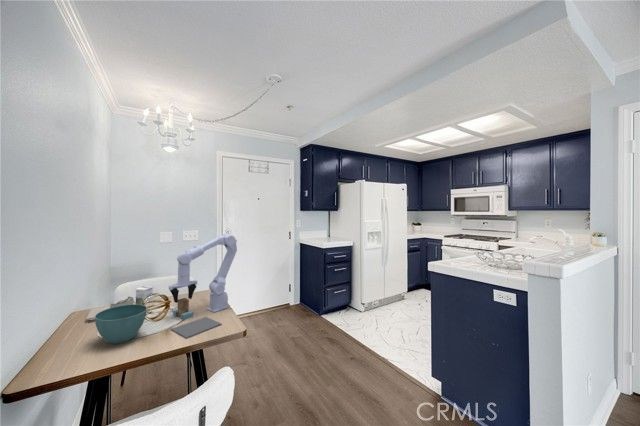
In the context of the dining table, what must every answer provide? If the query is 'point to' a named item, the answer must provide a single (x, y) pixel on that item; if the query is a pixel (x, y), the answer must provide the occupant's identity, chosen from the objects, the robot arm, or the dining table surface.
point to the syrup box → (143, 294)
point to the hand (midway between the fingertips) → (183, 300)
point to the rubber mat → (195, 327)
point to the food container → (123, 302)
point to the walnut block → (182, 306)
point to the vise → (183, 315)
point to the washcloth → (94, 313)
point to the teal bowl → (120, 322)
